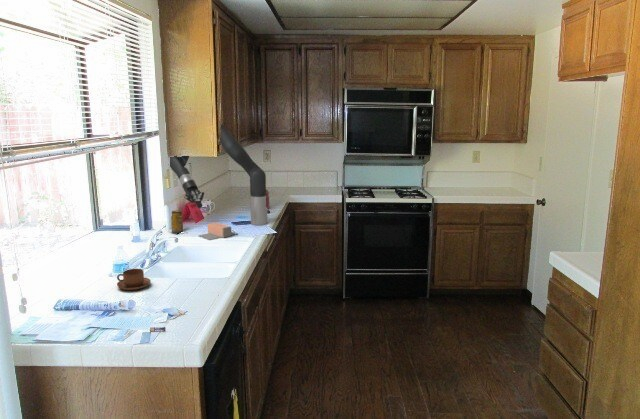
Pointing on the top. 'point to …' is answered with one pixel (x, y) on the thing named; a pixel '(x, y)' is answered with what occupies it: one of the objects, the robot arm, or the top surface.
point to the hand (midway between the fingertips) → (200, 207)
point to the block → (219, 229)
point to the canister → (267, 198)
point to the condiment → (177, 222)
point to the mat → (212, 236)
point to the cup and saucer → (133, 280)
